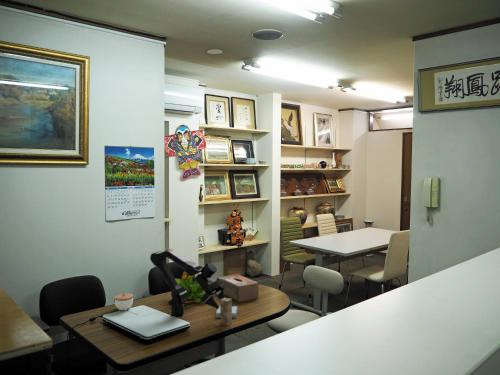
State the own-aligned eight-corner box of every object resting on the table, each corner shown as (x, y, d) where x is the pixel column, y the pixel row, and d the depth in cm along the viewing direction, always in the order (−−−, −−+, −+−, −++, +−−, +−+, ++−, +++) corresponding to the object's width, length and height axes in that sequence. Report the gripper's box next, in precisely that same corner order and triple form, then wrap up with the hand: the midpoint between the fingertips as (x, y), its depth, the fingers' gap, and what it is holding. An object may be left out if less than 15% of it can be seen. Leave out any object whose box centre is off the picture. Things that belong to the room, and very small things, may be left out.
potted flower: (179, 310, 238) (179, 280, 237) (160, 300, 256) (160, 272, 256) (214, 301, 254) (214, 273, 253) (194, 292, 272) (194, 266, 271)
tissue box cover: (219, 292, 274) (218, 277, 273) (237, 288, 282) (237, 274, 281) (239, 302, 252) (239, 286, 252) (258, 298, 260) (258, 282, 260)
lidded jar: (127, 312, 234) (127, 296, 234) (111, 311, 236) (110, 295, 236) (136, 306, 245) (136, 291, 244) (120, 305, 247) (120, 290, 247)
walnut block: (220, 324, 216) (220, 300, 215) (224, 321, 220) (224, 297, 219) (227, 325, 214) (227, 301, 213) (231, 322, 218) (231, 298, 218)
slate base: (216, 317, 226) (216, 313, 226) (218, 310, 237) (218, 306, 237) (235, 317, 225) (235, 313, 225) (237, 310, 236) (237, 306, 236)
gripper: (204, 278, 211) (223, 301, 206) (221, 270, 227) (239, 291, 223) (192, 291, 214) (210, 314, 210) (210, 282, 231) (227, 304, 227)
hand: (222, 305), depth 217 cm, fingers open, 9 cm apart
